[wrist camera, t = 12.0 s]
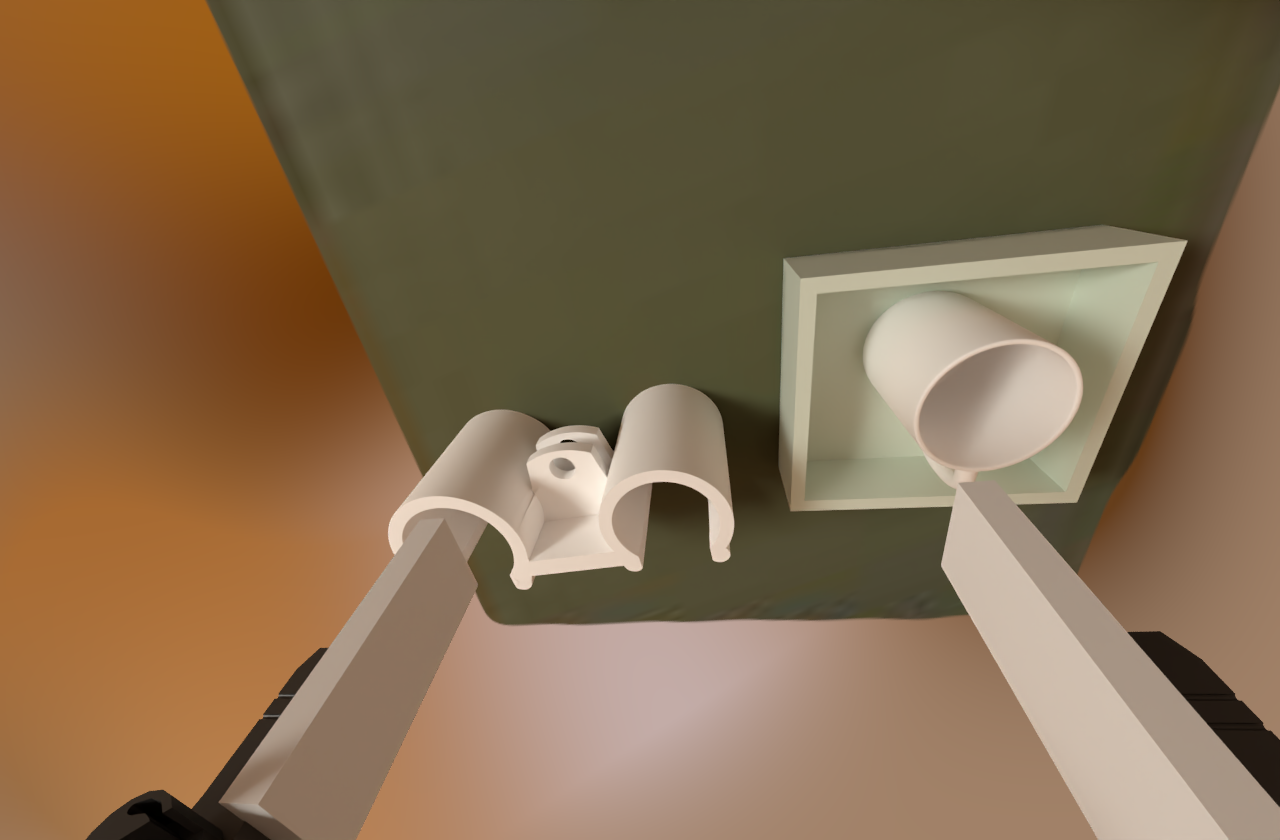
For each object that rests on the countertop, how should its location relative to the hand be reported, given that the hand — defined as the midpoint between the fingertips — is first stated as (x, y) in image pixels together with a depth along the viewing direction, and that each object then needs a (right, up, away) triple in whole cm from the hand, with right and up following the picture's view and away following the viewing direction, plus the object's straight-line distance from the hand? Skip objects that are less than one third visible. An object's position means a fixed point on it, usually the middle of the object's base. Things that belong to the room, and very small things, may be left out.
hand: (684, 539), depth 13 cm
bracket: (-6, +1, +30) cm, 31 cm away
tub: (+20, +7, +24) cm, 32 cm away
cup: (+20, +7, +23) cm, 31 cm away
